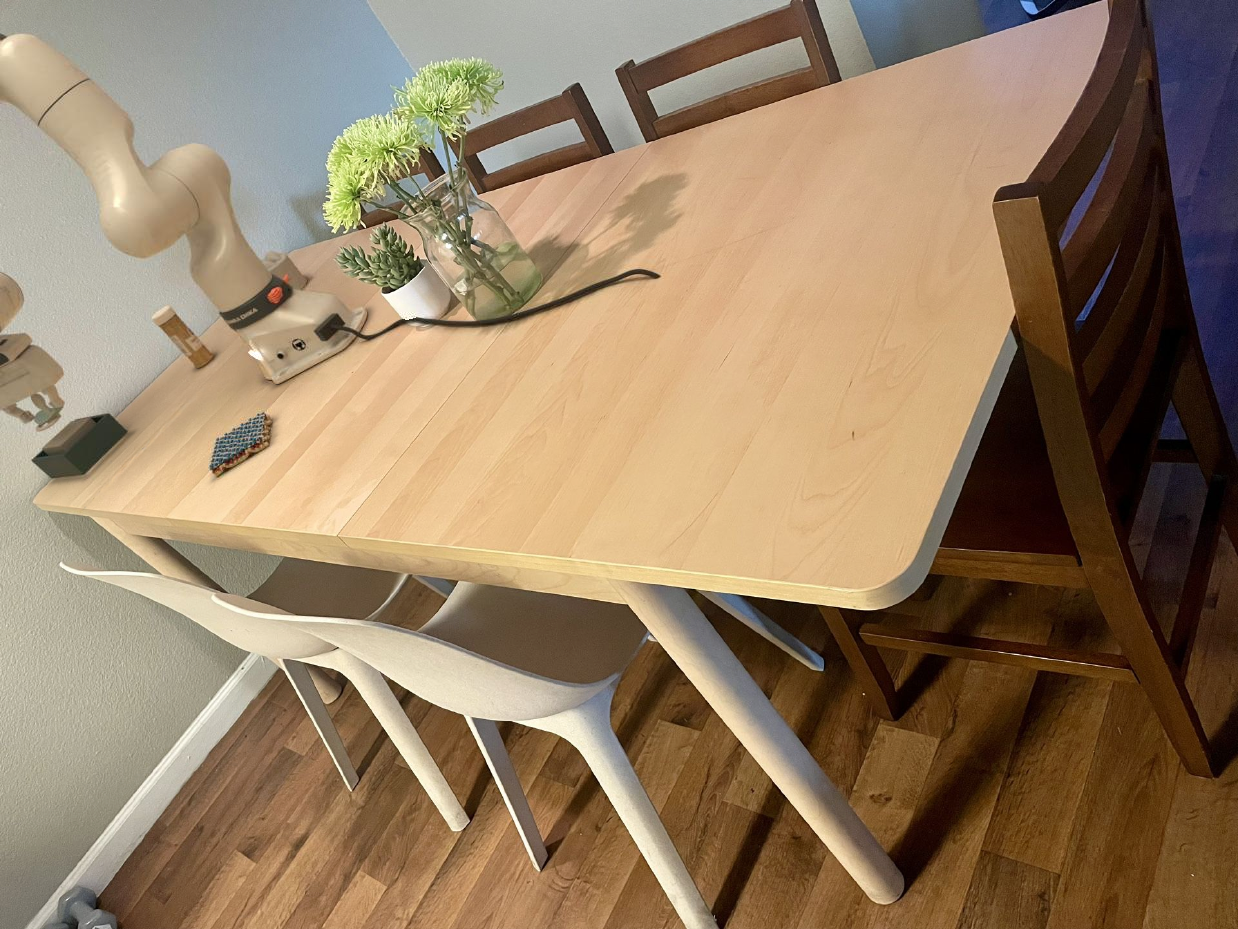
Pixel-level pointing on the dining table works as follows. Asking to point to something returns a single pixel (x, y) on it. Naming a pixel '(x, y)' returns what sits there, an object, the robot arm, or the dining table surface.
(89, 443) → the crate
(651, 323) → the dining table surface
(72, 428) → the block
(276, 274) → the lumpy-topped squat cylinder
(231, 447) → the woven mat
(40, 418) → the pacifier
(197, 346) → the sprinkles bottle
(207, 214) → the robot arm
